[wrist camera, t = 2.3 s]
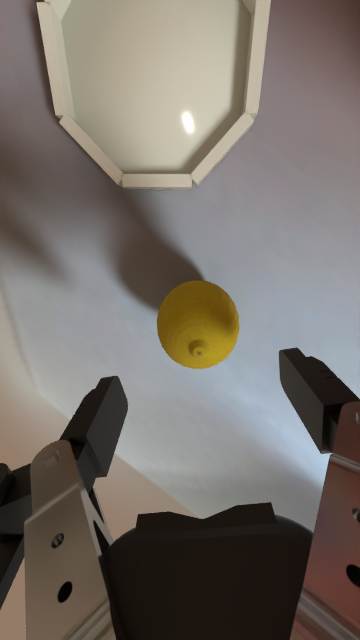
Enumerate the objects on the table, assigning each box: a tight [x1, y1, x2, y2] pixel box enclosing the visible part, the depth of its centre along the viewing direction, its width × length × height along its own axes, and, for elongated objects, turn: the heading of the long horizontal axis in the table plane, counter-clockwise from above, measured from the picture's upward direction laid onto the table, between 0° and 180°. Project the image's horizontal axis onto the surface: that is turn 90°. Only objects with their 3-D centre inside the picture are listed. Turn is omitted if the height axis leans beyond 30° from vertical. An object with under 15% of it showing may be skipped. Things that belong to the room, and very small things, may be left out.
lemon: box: [157, 280, 239, 369], centre depth 16 cm, size 6×6×8 cm
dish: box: [36, 0, 271, 190], centre depth 13 cm, size 12×12×2 cm
